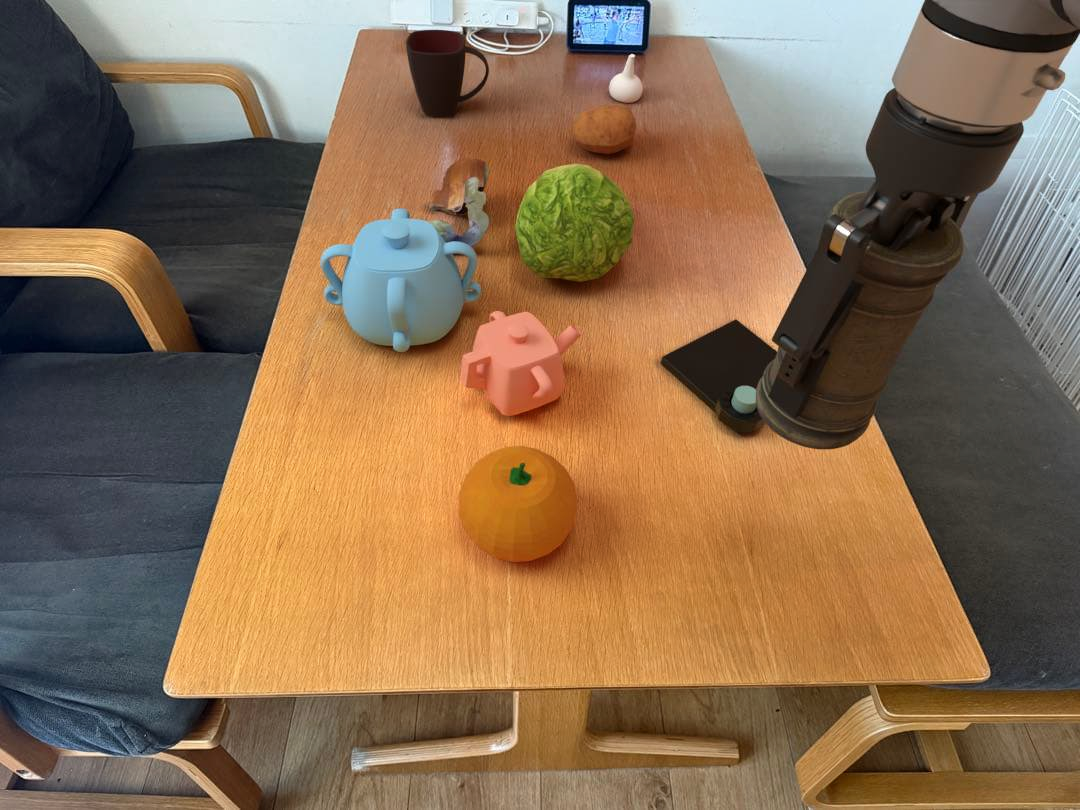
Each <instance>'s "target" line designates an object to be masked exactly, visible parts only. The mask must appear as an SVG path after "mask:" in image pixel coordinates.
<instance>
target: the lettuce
mask: <svg viewBox="0 0 1080 810" xmlns="http://www.w3.org/2000/svg"><path fill="white" fill-rule="evenodd" d="M635 219H636V216H635V212H634V210H633V207H632V205H631V203H630V202H629V200H628V198H627V197H626V195H625V193H624V192H623V190H622V188H621V186H620V184H618V183H617V182H616V181H614V180H613V179H611V178H610V177H609V176H608V175H606V174H605V173H604V172H602V171H601V170H600V171H599V170H597V169H595V168H594V167H592V166H591V165H587V164H581V163H571V164H565V165H559V166H556V167H553V168H550V169H546V170H545V171H544V172H543V173H542V174H540V176H539V177H538V178H537V179H536V180H535V181H534V182H533V183H532V184H531V185H530V186H529V187H528V188H527V189H526V191H525V193H524V196H523V197H522V199H521V202H520V205H519V207H518V211H517V215H516V221H515V224H514V228H515V230H514V231H515V236H516V240H517V246H518V250H519V254H520V258H521V261H522V263H523V264H524V265H525V266H526V267H528V268H529V270H531V271H532V272H533V273H534V274H535V275H536V276H537V277H539V278H540V279H562V280H567V281H573V282H577V283H581V282H586V281H591V280H596V279H600V278H602V277H603V276H604V275H606V274H607V273H608V272H610V270H611V269H613V268H614V267H615V266H616V265H617V264H618V262H619V261H620V260H621V258H622V257H623V255H624V254H625V253H626V251H627V250H628V248H629V247H630V246H631V245H632V243H633V237H634V227H635Z"/></svg>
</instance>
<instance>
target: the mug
mask: <svg viewBox="0 0 1080 810" xmlns="http://www.w3.org/2000/svg"><path fill="white" fill-rule="evenodd" d="M405 47H406V55H407V61H408V62H407V63H408V68H409V72H410V75H411V79H412V82H413V87H414V90H415V94H416V96H417V99H418V102H419V105H420V107H421V110H422V113H424V115H425V116H426V117H429V118H437V119H439V118H440V119H442V118H452V117H454V115H455V114H457V110H458V107H459V103H464V102H467V101H469V100H471V99H472V98H473V97H475V96H476V95H477V94H478V93H480V91H481V90H482V89H483V88H484V87H485V85H486V83H487V81H488V78H489V74H490V66H489V63H488V60H487V58H486V56H485V55H484V54H483V53H482V52H481V51H479V50H478V49H476V48H474V47H471V46H467V45H466V39H465V37H464V36H463V34H461V32H458V31H454V30H448V29H422V30H420V29H419V30H415V31H413V32H411V33H410V34H409V35H408V37H407V38H406V40H405ZM466 54H471V55H473V56H476V57H477V58H478V59H480V60H481V61H482V63H483V64H484V67H485V74H484V77H483V79H482V80H481V82H480V83H479V84H477V86H476V87H475V88H473V90H471V91H469V92H468V93H466V94H464V95H462V94H461V93H462V89H463V83H464V74H465V67H466Z"/></svg>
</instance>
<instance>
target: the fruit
mask: <svg viewBox="0 0 1080 810" xmlns="http://www.w3.org/2000/svg"><path fill="white" fill-rule="evenodd" d="M458 493H459V494H458V514H459V518H460V522H461V524H462V526H463V528H464V531H465V533H466V535H467V537H468V538H469V540H471V541H472V543H474V545H476V547H477V548H478V549H479V550H481V551H482V552H484V553H486V554H488V555H490V556H492V557H493V558H495V559H498V560H503V561H507V562H511V563H518V562H531V561H534V560H536V559H540V558H542V557H545V556H547V555H549V554H551V553H552V552H553V551H555V550H556V549H557V548H558V547H560V546H561V545H562V544H563V543H564V542H565V540H566V538H567V537H568V535H569V534H570V532H572V529H573V528H574V524H575V520H576V516H577V513H578V507H579V505H578V495H577V489H576V486H575V483H574V481H573V479H572V477H571V475H570V474H569V472H568V470H567V468H566V467H565V466H564V465H562V464H561V462H559V461H558V460H557V459H556V458H555V457H554V456H553V455H551V454H548V453H546V452H544V451H542V450H541V449H538V448H534V447H530V446H526V445H524V446H523V445H515V446H513V445H512V446H506V447H501V448H499V449H496V450H493V451H491V452H489V453H487V454H486V455H485V456H483V457H481V458H480V459H478V460H477V461H476V463H475V464H474V465H473V466H472V467H471V469H470V470H469V471H467V473H466V475H465V477H464V480H463V482H462V484H461V488H460V490H459V492H458Z"/></svg>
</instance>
